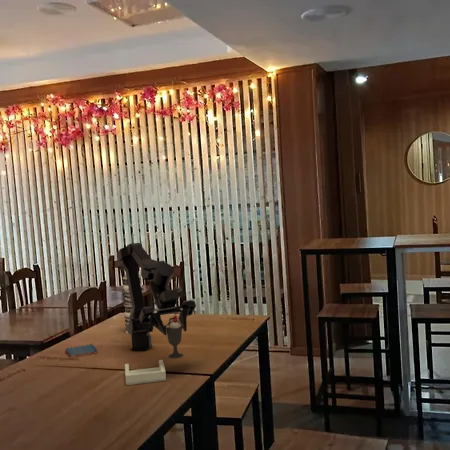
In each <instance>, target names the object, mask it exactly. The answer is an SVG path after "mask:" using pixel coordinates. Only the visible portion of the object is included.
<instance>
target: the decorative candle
mask: <svg viewBox="0 0 450 450" xmlns="http://www.w3.org/2000/svg"><path fill="white" fill-rule="evenodd" d="M122 279H123V284H122V290H121V292H122V297H123V299H122V300H123V306H124V307H125V311H124V322H125V323H124V325H125V327H124V328H125V333H126V334H128V335H130V334H129V333H128V330H127V327H128V324H129V321H130V314H131V311H132V303H131V298H130V292H129V287H128V282H127V276H126V273H125V274H124V276H123V277H122ZM139 279H140V284H141V289H142V294H143V295H144V294H145V293H144V292H143V291H144V288H143V287H144V285H143V283H142V276H141V274H139ZM144 298H145V297H144V296H143V299H144Z"/></svg>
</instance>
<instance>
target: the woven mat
mask: <svg viewBox="0 0 450 450" xmlns="http://www.w3.org/2000/svg"><path fill="white" fill-rule="evenodd" d="M64 352H65V354H67V357H68V358H70V359H72V358H79V357H80V358H81V357H85V356H91V355H92V356H93V355H96V354H97V353H98V350H97V348H96V347H95V346H94V345H93V344H92V343H90V344H85V345H78V346H77V345H76V346H71V347H67V348H65V350H64Z"/></svg>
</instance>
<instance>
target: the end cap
mask: <svg viewBox="0 0 450 450" xmlns="http://www.w3.org/2000/svg"><path fill="white" fill-rule="evenodd" d="M158 364H159V365H158V367H151V368H150V367H149V368H141V369H132V370H130V367H129V366H130V365H129V363H124V374H125V385H126V386H131V385H132V386H133V385H141V384H148V383H157V382H165V381H167V376H166V368H165V364H164V362H163V359H159V360H158Z"/></svg>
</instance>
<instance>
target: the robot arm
mask: <svg viewBox="0 0 450 450" xmlns="http://www.w3.org/2000/svg"><path fill="white" fill-rule="evenodd" d="M116 257H117V261H118V262H119V266H120V267H121V268H122V270H123V271H124V272H125V274H126V276H127V282H128V287H129V292H130V298H131V303H132V311H131V314H130V321H129V324H128V327H127V330H128V333H129V334H128V335H130V336H131V348H130V351H148V350H149V349H150V348H152V347H153V344H152V335H150V334H151V332H154V328H155V329H157V330H158V331H159V332H161V334H163V335H164V336H167V332H166V329H165V327H164V326H165V324H164V323H163V320H162V316H164V315H172V314H175V313H176V312H177V314H178V315H179V316H178V317H177V318H178V319H179V322H180V323H181V324H182V325H184V327H183V328H182V330H183V331H184V333H185V332H187V329H188V327H187V325H188V323H187V321H188V320H187V318H188V317H189V316H192V315H193V314H194V312H195V309H196V307H197V304H196V302H195V300H193V299H191V300H189V299H188V300H183V301H182V302H181V305H179V306H176V305H177V304H178V300H180V298H182V297H183V296H184V291H183V289H182V287H181V286H177V287H175V288H174V289H169V288H168V287H169V286H168V285H169V284H170V282H171V279H172V277H173V275H174V271H175V268H174V267H173V265H171V264H169V263H167V262H166V261H165V260H159V261H158V260H155V259H152V257H151V256H150V255H149V254H148V253H147V251H146V250H145V249H144V247H143V243H141V242H132V243H128V244H127V245H126V246H124V247H122V248H120V249H119V250H118V251H117V252H116ZM139 267H140V273H139V270H138V269H139ZM139 275H140V276H141V279H143V280H144V282H150V283H149V285H148V286H149V289H148V290H149V292H150V293H151V294H152V297H153V300H154V301H153V304H154V306H156V308H155V307H154V306H146V305H145V300H144V298H143V297H144V294H142V293H143V291H142V289H141V288H142V287H141V284H140V279H139ZM127 330H126V331H127Z"/></svg>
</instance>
